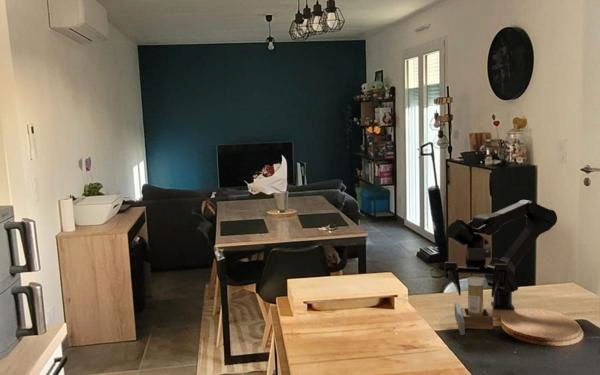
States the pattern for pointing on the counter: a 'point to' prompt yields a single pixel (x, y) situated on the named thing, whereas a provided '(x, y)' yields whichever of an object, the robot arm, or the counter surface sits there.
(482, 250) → the robot arm
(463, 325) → the backstop rail
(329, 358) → the counter surface
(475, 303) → the sprinkles bottle
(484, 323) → the socket block
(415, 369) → the counter surface
